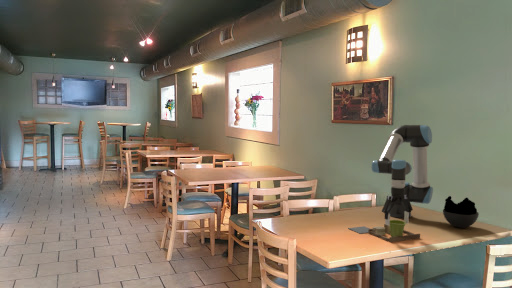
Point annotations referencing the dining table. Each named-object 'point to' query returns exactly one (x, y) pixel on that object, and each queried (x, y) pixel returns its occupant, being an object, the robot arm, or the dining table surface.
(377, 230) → the offcut left
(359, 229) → the mat
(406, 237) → the dark brown tray
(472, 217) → the coal bowl
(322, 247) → the dining table surface
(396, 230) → the plant pot
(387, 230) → the offcut top
